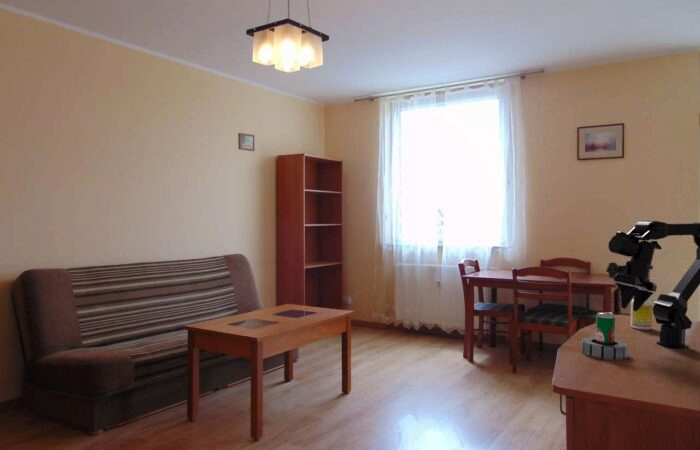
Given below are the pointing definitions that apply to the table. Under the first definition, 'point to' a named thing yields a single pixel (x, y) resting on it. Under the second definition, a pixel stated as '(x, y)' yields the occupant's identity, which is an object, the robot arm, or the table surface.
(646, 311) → the supplement bottle
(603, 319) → the soda can
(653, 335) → the table surface
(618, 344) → the ring
